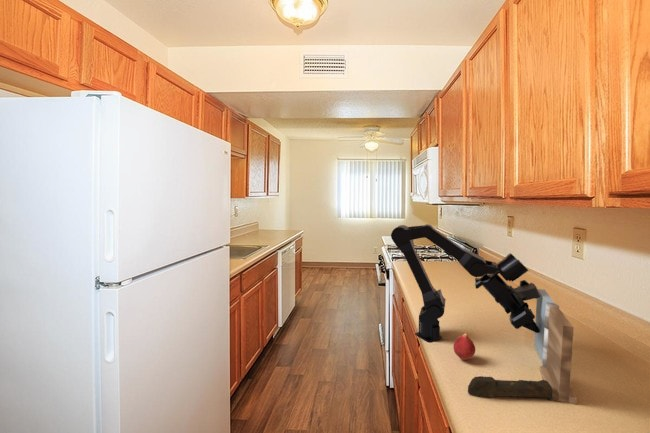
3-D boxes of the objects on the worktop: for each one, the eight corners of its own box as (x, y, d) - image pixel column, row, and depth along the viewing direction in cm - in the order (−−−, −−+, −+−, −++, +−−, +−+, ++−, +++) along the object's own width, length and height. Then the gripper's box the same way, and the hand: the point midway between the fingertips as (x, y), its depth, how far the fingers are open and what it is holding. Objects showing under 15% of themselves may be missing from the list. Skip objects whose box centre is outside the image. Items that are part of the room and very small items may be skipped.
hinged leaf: (543, 370, 91) (547, 306, 89) (532, 343, 106) (535, 288, 104) (556, 372, 89) (560, 307, 88) (543, 345, 104) (546, 289, 103)
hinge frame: (550, 399, 79) (555, 324, 77) (536, 365, 94) (540, 302, 92) (576, 404, 77) (581, 328, 75) (558, 368, 92) (561, 304, 90)
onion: (454, 364, 95) (455, 336, 94) (451, 354, 100) (452, 328, 99) (476, 366, 93) (477, 339, 92) (472, 356, 99) (473, 330, 98)
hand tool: (543, 392, 82) (544, 374, 81) (553, 402, 78) (554, 383, 77) (464, 388, 84) (464, 371, 83) (469, 398, 80) (470, 380, 79)
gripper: (528, 283, 91) (573, 329, 88) (517, 266, 108) (553, 304, 106) (494, 306, 95) (536, 351, 92) (488, 287, 112) (523, 323, 109)
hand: (538, 330), depth 100 cm, fingers closed on hinged leaf, 2 cm apart
